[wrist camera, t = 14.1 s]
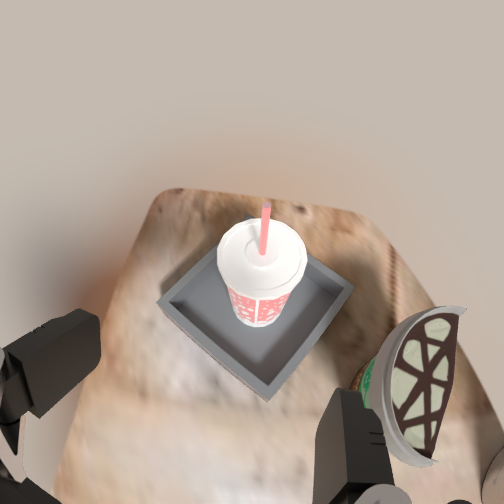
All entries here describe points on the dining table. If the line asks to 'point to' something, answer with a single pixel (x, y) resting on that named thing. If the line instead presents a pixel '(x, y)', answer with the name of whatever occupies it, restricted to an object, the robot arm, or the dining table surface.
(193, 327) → the tray
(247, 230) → the beverage cup
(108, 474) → the dining table surface
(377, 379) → the food container
